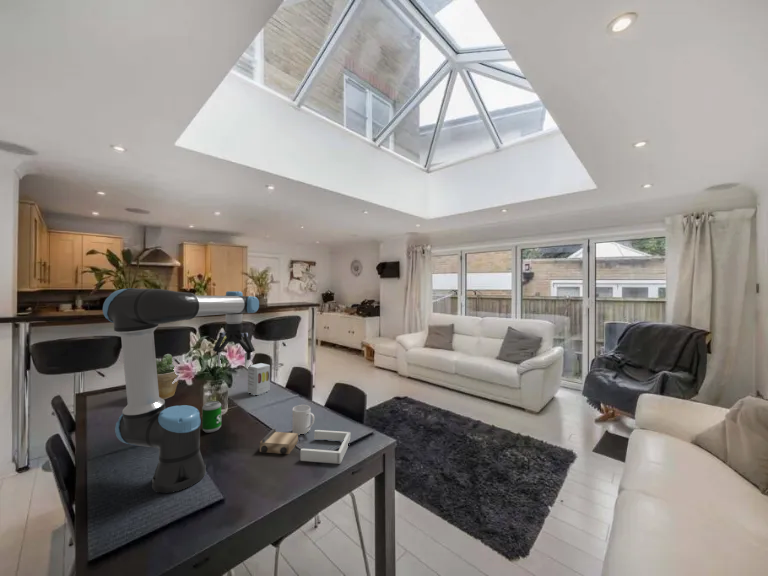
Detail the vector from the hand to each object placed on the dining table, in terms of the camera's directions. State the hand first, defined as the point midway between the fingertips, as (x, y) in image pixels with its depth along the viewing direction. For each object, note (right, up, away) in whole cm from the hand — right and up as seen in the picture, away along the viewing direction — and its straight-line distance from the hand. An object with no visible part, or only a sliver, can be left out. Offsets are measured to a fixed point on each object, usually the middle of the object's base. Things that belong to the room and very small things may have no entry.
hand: (233, 366), depth 151 cm
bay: (+51, -27, -28) cm, 64 cm away
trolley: (+31, -27, -25) cm, 48 cm away
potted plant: (-56, -26, +29) cm, 68 cm away
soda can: (-5, -26, -11) cm, 29 cm away
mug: (+38, -27, -13) cm, 48 cm away
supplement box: (-3, -26, +37) cm, 46 cm away
